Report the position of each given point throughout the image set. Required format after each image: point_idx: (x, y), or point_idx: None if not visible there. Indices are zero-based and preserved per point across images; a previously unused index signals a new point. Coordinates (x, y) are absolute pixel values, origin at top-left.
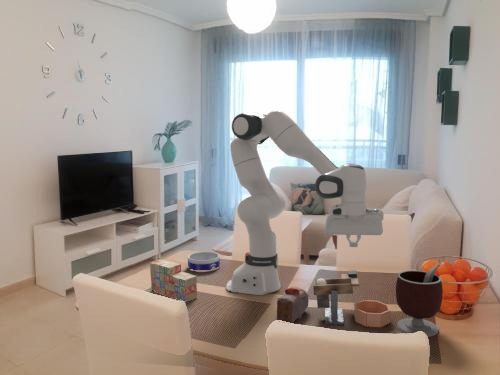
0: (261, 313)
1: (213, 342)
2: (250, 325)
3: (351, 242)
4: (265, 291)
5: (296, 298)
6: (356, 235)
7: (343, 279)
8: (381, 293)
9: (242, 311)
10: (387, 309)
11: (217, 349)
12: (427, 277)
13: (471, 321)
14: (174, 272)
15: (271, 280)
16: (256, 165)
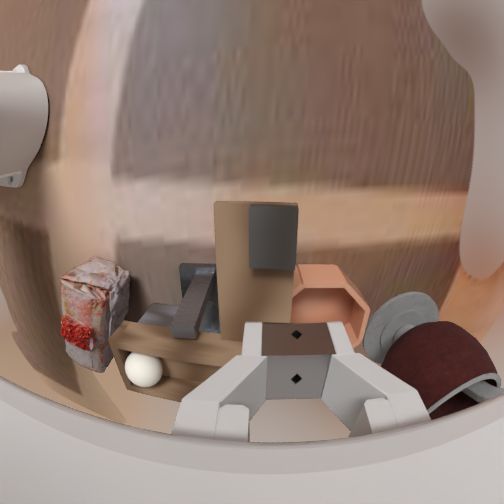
0: (53, 290)
1: (53, 379)
2: (62, 339)
3: (267, 398)
4: (21, 174)
5: (100, 354)
6: (365, 418)
7: (221, 364)
8: (381, 98)
9: (25, 282)
10: (359, 327)
11: (67, 394)
12: (476, 399)
13: (497, 279)
14: None
15: (11, 154)
16: None
